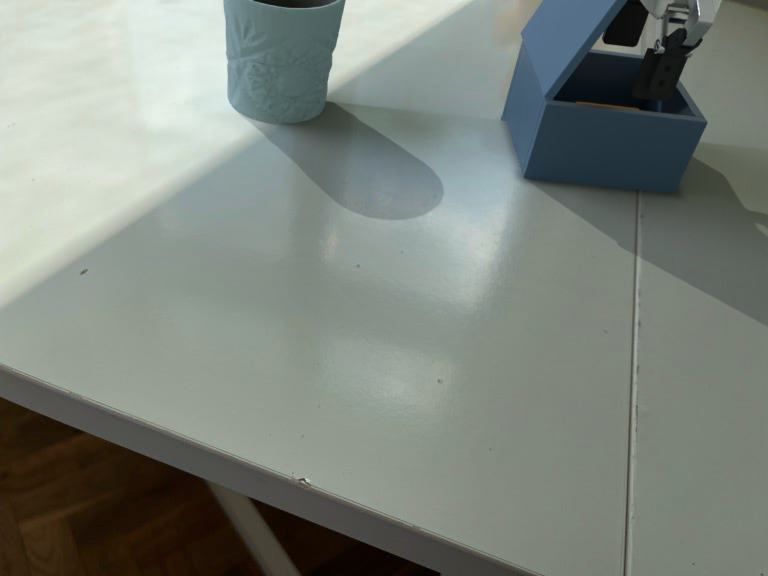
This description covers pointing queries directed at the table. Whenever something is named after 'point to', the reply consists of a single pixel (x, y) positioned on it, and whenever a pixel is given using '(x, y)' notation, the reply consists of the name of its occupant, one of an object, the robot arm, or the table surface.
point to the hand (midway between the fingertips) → (633, 69)
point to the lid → (565, 37)
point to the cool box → (601, 126)
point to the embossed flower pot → (280, 56)
